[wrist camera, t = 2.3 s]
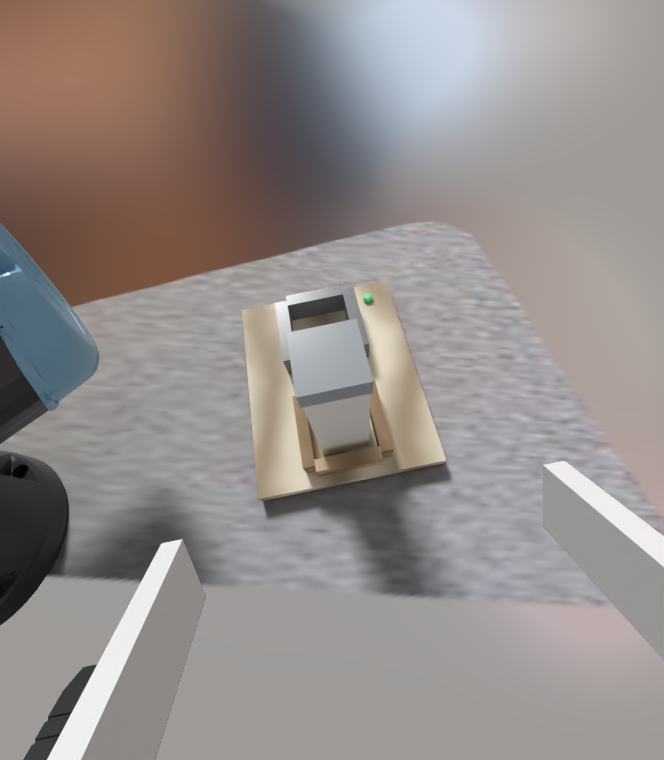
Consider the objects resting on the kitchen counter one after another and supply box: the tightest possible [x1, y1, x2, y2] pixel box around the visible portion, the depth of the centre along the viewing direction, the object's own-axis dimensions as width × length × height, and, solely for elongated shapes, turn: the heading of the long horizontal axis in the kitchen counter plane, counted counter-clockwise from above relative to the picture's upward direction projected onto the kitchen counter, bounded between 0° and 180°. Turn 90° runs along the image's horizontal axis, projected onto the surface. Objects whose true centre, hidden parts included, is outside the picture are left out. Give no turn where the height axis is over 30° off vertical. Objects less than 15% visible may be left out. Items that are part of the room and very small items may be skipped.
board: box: [242, 281, 446, 501], centre depth 34 cm, size 16×20×1 cm
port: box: [275, 285, 373, 374], centre depth 34 cm, size 10×8×2 cm
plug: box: [286, 319, 373, 455], centre depth 25 cm, size 4×4×13 cm
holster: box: [292, 379, 394, 477], centre depth 30 cm, size 7×7×2 cm
